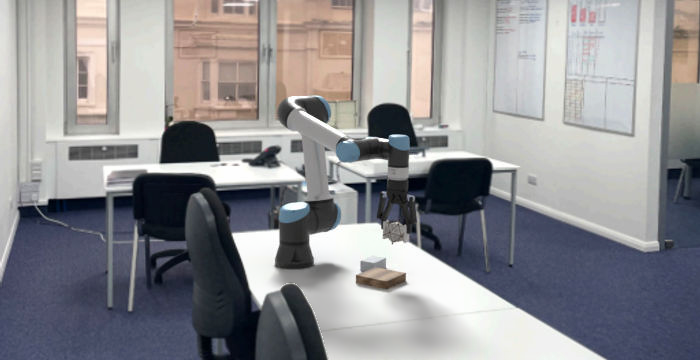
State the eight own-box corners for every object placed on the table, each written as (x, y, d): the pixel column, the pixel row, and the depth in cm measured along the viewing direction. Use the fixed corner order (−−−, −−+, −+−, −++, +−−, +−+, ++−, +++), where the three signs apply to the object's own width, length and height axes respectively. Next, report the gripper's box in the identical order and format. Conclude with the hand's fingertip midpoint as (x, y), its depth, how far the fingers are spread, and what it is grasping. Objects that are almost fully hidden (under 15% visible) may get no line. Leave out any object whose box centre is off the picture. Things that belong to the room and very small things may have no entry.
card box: (360, 270, 308) (360, 260, 307) (372, 265, 315) (372, 255, 315) (373, 273, 305) (374, 263, 304) (385, 268, 312) (386, 257, 311)
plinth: (355, 283, 291) (355, 274, 290) (375, 274, 301) (375, 267, 301) (386, 289, 284) (386, 281, 283) (405, 281, 294) (405, 273, 294)
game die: (401, 253, 293) (408, 234, 286) (378, 246, 293) (385, 227, 287) (405, 236, 300) (412, 217, 293) (383, 229, 300) (389, 210, 293)
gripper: (367, 176, 292) (365, 237, 296) (418, 183, 281) (416, 246, 285) (378, 173, 298) (376, 233, 302) (428, 180, 287) (426, 242, 291)
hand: (395, 240), depth 294 cm, fingers closed on game die, 8 cm apart
